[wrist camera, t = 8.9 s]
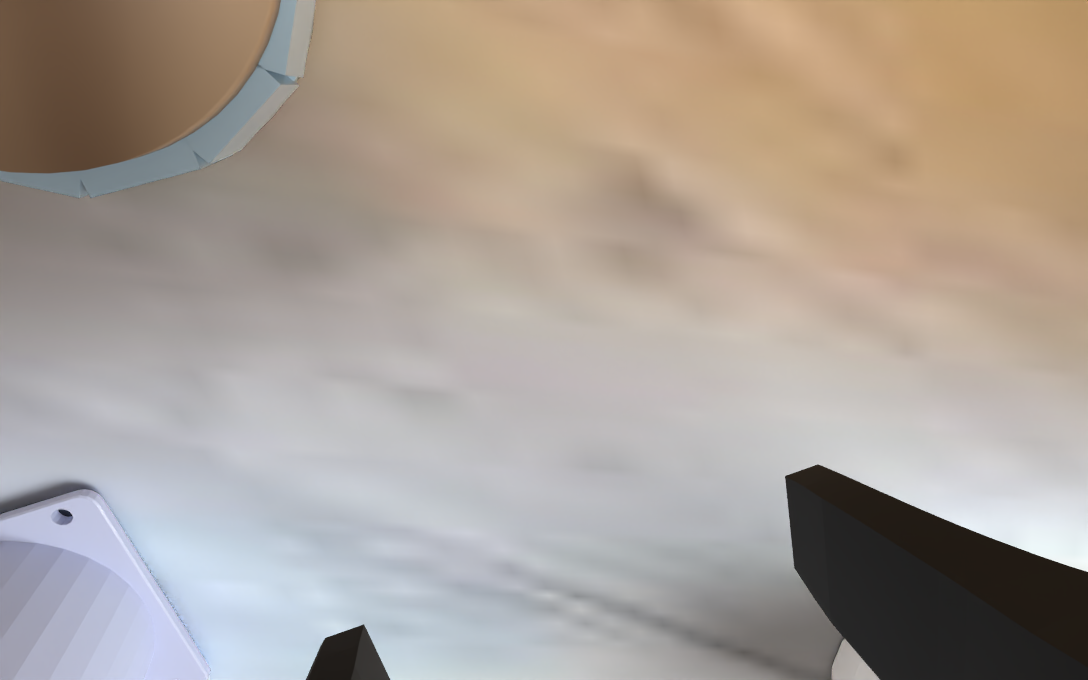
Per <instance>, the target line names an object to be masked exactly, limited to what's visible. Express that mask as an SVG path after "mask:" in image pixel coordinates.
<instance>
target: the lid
mask: <svg viewBox="0 0 1088 680" xmlns="http://www.w3.org/2000/svg"><path fill="white" fill-rule="evenodd" d="M280 3H281V0H0V171H5V172H15V173H47V174H49V173H60V172H72V171H83V170H88V169H93V168H97V167H102V166H106V165H111V164H116V163H120V162H123V161H127V160H130V159H134V158H138V157H141V156H144V155H146V154H149V153H152V152H155V151H157V150H160V149H163V148H165V147H168V146H170V145H172V144H174V143H176V142H178V141H179V140H181V139H183V138H185V137H187V136H189V135H190V134H192V133H194V132H196V131H197V130H198V129H200V128H201V127H202V126H204V125H205V124H206V123H208V122H209V121H210V120H212V119H213V118H214V117H216V116H217V115H218V114H219V113H220V112H221V111H222V110H223V109H224V108H225V107H226V106H227V105H228V104H229V103H230V102H231V101H232V100H233V99H234V98H235V97H236V96H237V95H238V93H239V92H240V90H241V89H242V88H243V86H244V85H245V83H246V82H247V81H248V79H249V78H250V76H251V75H252V74H253V72H254V71H255V69H256V67H257V65H258V63H259V61H260V59H261V57H262V55H263V53H264V51H265V49H266V47H267V45H268V43H269V41H270V38H271V35H272V32H273V29H274V26H275V23H276V20H277V17H278V14H279V8H280Z"/></svg>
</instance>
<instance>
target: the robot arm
mask: <svg viewBox="0 0 1088 680" xmlns="http://www.w3.org/2000/svg"><path fill="white" fill-rule="evenodd" d="M785 479H786V489H787V498H788V508H789V518H790V528H791V538H792V548H793V558H794V567H795V569H796V571H797V573H798V574H799V576H800V577H801V579H802V580H803V582H804V583H805V585H806V586H807V588H808V589H809V591H810V592H811V594H812V595H813V597H814V598H815V600H816V601H817V603H818V604H819V606H820V607H821V608H822V610H823V611H824V613H825V614H826V616H827V617H828V618H829V620H830V621H831V623H832V624H833V625H834V626H835V627H836V629H837V630H838V631H839V632H840V633H841V635H842V636H843V637H844V638H845V639H846V641H847V642H848V643H849V644H850V645H851V646H852V648H853V649H854V650H855V651H856V652H857V653H858V655H859V656H860V657H861V658H862V659H863V660H864V662H865V663H866V664H867V665H868V666H869V667H870V669H871V670H872V671H873V672H874V673H875V674H876V676H877V677H878V678H879V679H880V680H1088V572H1086V571H1083V570H1079V569H1076V568H1073V567H1070V566H1067V565H1064V564H1061V563H1058V562H1055V561H1052V560H1049V559H1046V558H1043V557H1040V556H1038V555H1035V554H1032V553H1029V552H1027V551H1024V550H1021V549H1019V548H1016V547H1013V546H1011V545H1008V544H1005V543H1002V542H1000V541H997V540H994V539H992V538H989V537H986V536H984V535H981V534H979V533H976V532H974V531H971V530H969V529H966V528H964V527H961V526H959V525H956V524H954V523H952V522H949V521H947V520H944V519H942V518H940V517H937V516H935V515H933V514H930V513H928V512H925V511H923V510H921V509H919V508H916V507H914V506H912V505H909V504H907V503H905V502H902V501H900V500H898V499H896V498H893V497H891V496H889V495H887V494H884V493H882V492H880V491H878V490H875V489H873V488H871V487H869V486H866V485H864V484H862V483H860V482H858V481H855V480H853V479H851V478H849V477H846V476H844V475H842V474H840V473H837V472H835V471H833V470H830V469H828V468H825V467H823V466H821V465H815V466H813V467H810V468H807V469H804V470H801V471H798V472H796V473H793V474H790V475H787V476H785ZM59 509H64V510H67V511H69V512H70V513H71V514H72V516H70V517H67V516H63V515H62V514H60V513H59V511H58V510H59ZM210 671H211V670H210V667H209V665H208V663H207V662H206V660H205V659H204V657H203V655H202V654H201V652H200V651H199V649H198V648H197V646H196V644H195V643H194V641H193V640H192V638H191V636H190V635H189V633H188V632H187V630H186V629H185V627H184V625H183V624H182V622H181V621H180V619H179V617H178V616H177V614H176V613H175V611H174V610H173V608H172V606H171V605H170V603H169V602H168V600H167V598H166V597H165V595H164V594H163V592H162V590H161V589H160V587H159V586H158V584H157V583H156V581H155V579H154V578H153V576H152V575H151V573H150V571H149V570H148V568H147V567H146V565H145V564H144V562H143V560H142V559H141V557H140V556H139V554H138V552H137V551H136V549H135V548H134V546H133V544H132V543H131V541H130V540H129V538H128V537H127V535H126V533H125V532H124V530H123V529H122V527H121V525H120V524H119V522H118V521H117V519H116V518H115V516H114V514H113V513H112V511H111V510H110V508H109V506H108V505H107V503H106V502H105V500H104V499H103V497H102V496H101V495H100V494H98V493H96V492H94V491H92V490H86V489H82V490H76V491H73V492H70V493H66V494H63V495H60V496H57V497H54V498H50V499H47V500H44V501H41V502H38V503H34V504H31V505H28V506H25V507H22V508H18V509H15V510H12V511H9V512H6V513H2V514H0V680H208V679H209V675H210ZM306 680H390V678H389V676H388V674H387V672H386V670H385V668H384V666H383V664H382V661H381V659H380V657H379V655H378V653H377V651H376V649H375V647H374V645H373V643H372V640H371V638H370V636H369V634H368V632H367V630H366V628H365V626H364V625H361V626H358V627H356V628H353V629H350V630H347V631H344V632H341V633H339V634H336V635H333V636H330V637H327V638H325V640H324V641H323V643H322V645H321V647H320V649H319V651H318V653H317V656H316V658H315V660H314V663H313V665H312V667H311V669H310V672H309V674H308V676H307V679H306Z"/></svg>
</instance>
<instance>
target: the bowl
mask: <svg viewBox="0 0 1088 680" xmlns="http://www.w3.org/2000/svg"><path fill="white" fill-rule="evenodd" d="M315 3H316V0H281V3H280V8H279V14H278V17H277V20H276V23H275V26H274V29H273V32H272V35H271V38H270V41H269V43H268V45H267V47H266V49H265V51H264V53H263V55H262V57H261V59H260V61H259V63H258V65H257V67H256V69H255V71H254V72H253V74H252V75H251V76H250V78H249V79H248V81H247V82H246V83H245V85H244V86H243V88H242V89H241V90H240V92H239V93H238V95H237V96H236V97H235V98H234V99H233V100H232V101H231V102H230V103H229V104H228V105H227V106H226V107H225V108H224V109H223V110H222V111H221V112H220V113H219V114H218V115H217V116H216V117H214V118H213V119H212V120H210V121H209V122H208V123H206V124H205V125H204V126H202V127H201V128H200V129H198V130H197V131H196V132H194V133H192V134H190V135H189V136H187V137H185V138H183V139H181V140H179V141H178V142H176V143H174V144H172V145H170V146H168V147H165V148H163V149H160V150H157V151H155V152H152V153H149V154H146V155H144V156H141V157H138V158H134V159H130V160H127V161H123V162H120V163H116V164H111V165H106V166H102V167H97V168H93V169H88V170H83V171H72V172H60V173H49V174H47V173H15V172H5V171H0V181H3V182H8V183H12V184H17V185H21V186H26V187H30V188H35V189H40V190H44V191H49V192H53V193H58V194H62V195H67V196H71V197H76V198H81V197H84V196H87V195H89V196H90V198H93V197H97V196H101V195H104V194H108V193H112V192H116V191H120V190H123V189H127V188H131V187H135V186H139V185H142V184H146V183H150V182H154V181H158V180H161V179H165V178H169V177H173V176H177V175H180V174H184V173H188V172H192V171H195V170H199V169H202V168H204V167H207V166H209V165H211V164H214V163H216V162H218V161H221V160H223V159H225V158H228V157H230V156H232V155H233V154H234V153H236V152H239V151H241V150H242V149H243V147H244V146H245V145H246V144H247V143H248V142H249V141H250V140H251V139H252V137H253V136H254V135H255V134H256V133H257V132H258V131H259V130H260V129H261V128H262V127H263V126H264V125H265V124H266V123H267V122H268V121H269V120H271V119H272V118H273V116H274V115H275V114H276V112H277V111H278V110H279V109H280V107H281V106H282V105H283V103H284V102H285V101H286V100H287V99H288V98H289V97H290V95H291V94H292V93H293V92H294V91H295V90H296V89H297V88H298V87H299V86H300V85H299V84H298V83H297V80H298V78H299V77H302V78H303V76H304V70H305V64H306V58H307V54H308V50H309V46H310V42H311V37H312V33H313V25H314V14H315Z"/></svg>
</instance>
